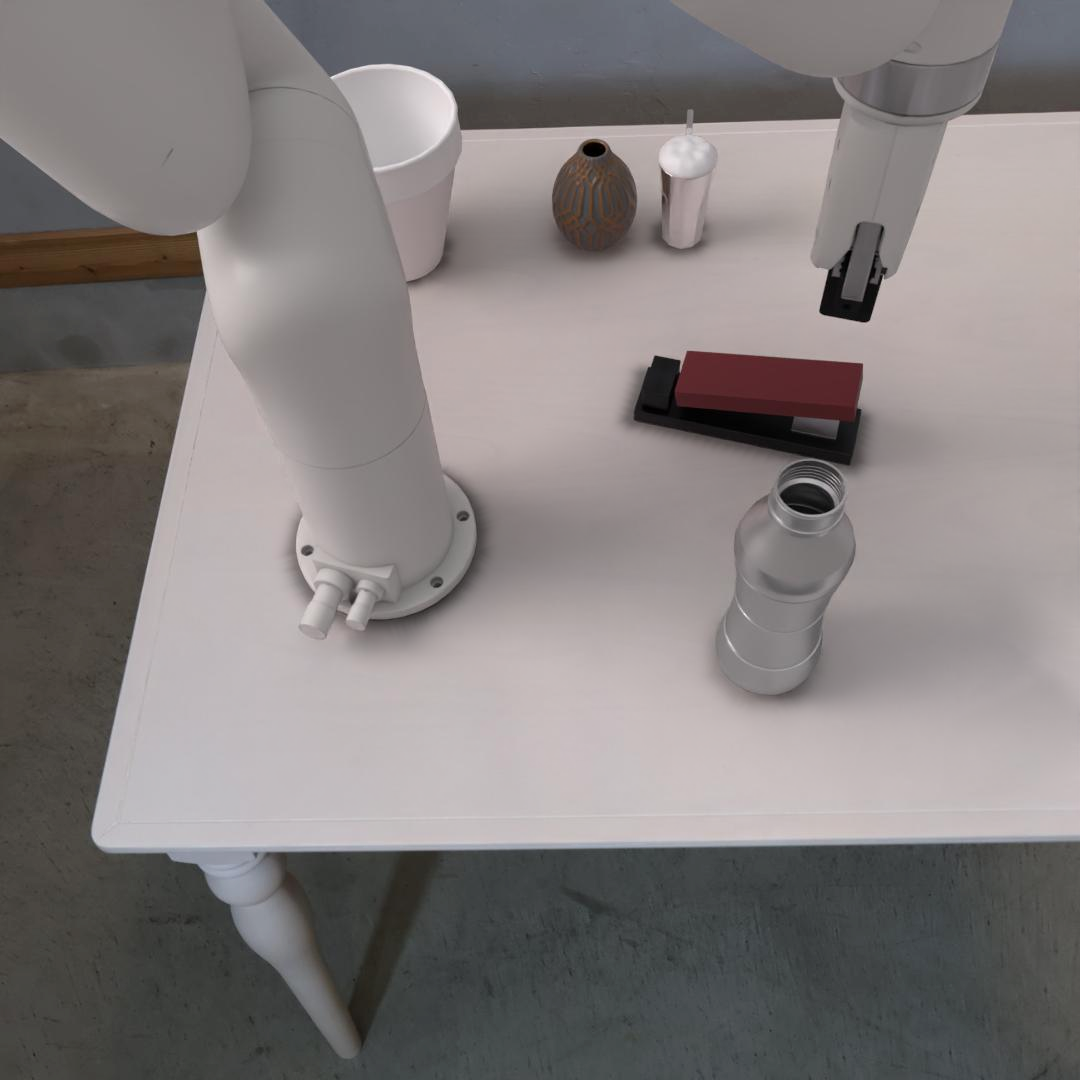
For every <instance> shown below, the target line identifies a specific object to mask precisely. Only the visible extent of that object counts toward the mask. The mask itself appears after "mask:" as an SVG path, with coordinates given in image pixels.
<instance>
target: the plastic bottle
mask: <svg viewBox="0 0 1080 1080" xmlns="http://www.w3.org/2000/svg"><path fill="white" fill-rule="evenodd" d="M848 492H849V486H848V482H847V479H846V477H845V476H844V473H842V472H841V470H840V469H838V468H837V467H836V466H835V465H833V464H832V463H829V461H826V460H821V459H817V458H800V459H797V460H794V461H791V462H789V463H788V464H786V465H785V466H783V468H782V469H781V470H780V471H779V472H778V473H777V475H776V477H775V478H774V481H773V486H772V487H771V489H770V491H769V493H767V494H766V495H763V496H762V497H760V498H759V499H757V500H756V501H755V502H754V503H752V505H751V506H749V508H748V509H747V510H746V512H745V513H744V514H743V515H742V517H741V518H740V520H739V522H738V523H737V526H736V529H735V532H734V540H733V557H734V567H735V584H734V593H733V596H732V600H731V602H730V605H729V606H728V608H727V609H726V610H725V612H724V614H723V615H722V618H721V620H720V621H719V625H718V627H717V630H716V634H715V649H716V654H717V658H718V661H719V664H720V667H721V669H722V671H723V673H724V674H725V675H726V677H728V679H729V680H730V682H733V683H734V684H735V685H736V686H738V687H739V688H741V689H743V690H745V691H747V692H750V693H754V694H756V695H763V696H772V695H779V694H784V693H787V692H790V691H791V690H794V689H796V688H798V686H800V685H801V684H803V682H804V681H805V680H806V679H807V678H808V677H809V676H810V675H811V673H813V671H814V670H815V669H816V667H817V665H818V663H819V662H820V660H821V659H820V658H821V655H822V651H823V649H822V648H823V636H824V634H823V622H824V615H825V612H826V609H827V607H828V606H829V604H830V601H831V599H832V597H833V596H834V594H835V593H836V592H837V590H838V589H839V587H840V586H841V584H842V583H843V582H844V580H845V578H846V577H847V576H848V574H849V571H850V569H851V567H852V566H853V564H854V561H855V557H856V553H857V552H856V551H857V542H856V536H855V531H854V527H853V524H852V522H851V519H850V517H849V516H848V514H847V513H846V512H845V510H846V501H847V499H848V495H849V493H848Z"/></svg>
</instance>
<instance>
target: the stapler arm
mask: <svg viewBox="0 0 1080 1080" xmlns="http://www.w3.org/2000/svg"><path fill="white" fill-rule="evenodd" d="M863 381H864V363H862V362H852V361H851V362H850V361H835V360H822V359H809V358H797V357H796V358H794V357H793V358H792V357H781V356H767V355H754V354H741V353H726V352H711V351H700V350H699V351H698V350H686V353H685V357H684V359H683V362H682V365H681V368H680V375H679V379H678V382H677V385H676V388H675V397H676V403H677V406H683V407H694V408H705V409H716V410H727V411H738V412H750V413H761V414H772V415H783V416H794V417H805V418H816V419H827V420H838V421H849V422H854V421H855V416H856V411H857V408H858V406H859V401H860V395H861V391H862V385H863Z"/></svg>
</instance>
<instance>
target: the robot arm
mask: <svg viewBox="0 0 1080 1080" xmlns="http://www.w3.org/2000/svg"><path fill="white" fill-rule="evenodd" d="M1013 1H1014V0H668V2H670V3H672V5H674V6H675V7H677V8H678V9H680V10H681V11H683V12H684V13H686V14H687V15H689V16H690V17H692V18H694V19H695V20H697V21H698V22H700V23H701V24H703V25H705V26H707V27H708V28H710V29H711V30H713V31H715V32H717V33H718V34H720V35H721V36H723V37H726V38H727V39H729V40H731V41H733V42H734V43H736V44H738V45H740V46H742V47H744V48H745V49H747V50H749V51H751V52H752V53H755V54H756V55H758V56H760V57H762V58H764V59H766V60H767V61H770V62H771V63H773V64H775V65H777V66H779V67H781V68H783V69H785V70H789V71H792V72H793V73H797V74H800V75H805V76H810V77H815V78H829V79H830V78H831V79H832V83H833V85H834V88H835V90H836V92H837V93H838V95H839V96H840V98H841V99H842V100H843V101H844V103H843V107H842V109H841V114H840V119H839V122H838V126H837V130H836V134H835V140H834V144H833V150H832V153H831V158H830V163H829V168H828V173H827V176H826V182H825V188H824V190H823V191H824V192H823V196H822V202H821V205H820V209H819V214H818V220H817V224H816V229H815V234H814V239H813V243H812V247H811V252H810V261H811V263H812V264H813V266H814V268H817V269H824V270H827V275H826V279H825V283H824V288H823V292H822V295H821V296H822V297H821V301H820V304H819V309H818V312H819V313H820V315H822V316H824V317H832V318H837V319H842V320H846V321H852V322H858V323H861V324H862V323H864V324H865V323H866V324H867V323H868V322H870V321H871V319H872V316H873V313H874V309H875V306H876V302H877V298H878V296H879V292H880V289H881V285H882V282H883V280H888V279H890V278H891V277H893V276H894V275H896V274H897V273H898V270H899V267H900V265H901V263H902V259H903V257H904V255H905V251H906V249H907V246H908V244H909V241H910V238H911V235H912V233H913V230H914V227H915V224H916V221H917V218H918V216H919V213H920V209H921V207H922V204H923V201H924V198H925V195H926V192H927V190H928V186H929V184H930V180H931V177H932V173H933V171H934V168H935V165H936V161H937V158H938V155H939V152H940V149H941V146H942V142H943V140H944V137H945V134H946V133H945V132H946V130H947V126H948V124H949V122H950V121H952V120H954V119H957V118H959V117H962V116H963V115H965V114H966V113H968V112H969V111H971V110H972V109H973V108H974V107H975V105H976V104H977V103H978V102H979V101H980V99H981V97H982V94H983V92H984V89H985V85H986V83H987V80H988V77H989V74H990V71H991V68H992V65H993V62H994V59H995V56H996V53H997V50H998V47H999V44H1000V41H1001V38H1002V35H1003V30H1004V28H1005V24H1006V22H1007V19H1008V16H1009V13H1010V10H1011V8H1012V5H1013ZM330 77H331V76H330V75H329V74H328V73H327V72H326V70H325V69H324V68H323V67H322V66H321V65H320V63H319V62H318V61H317V59H315V58H314V57H313V55H312V54H311V53H310V52H309V51H308V50H307V48H306V47H305V46H304V45H303V44H302V43H301V42H300V41H299V39H298V38H297V37H296V36H295V34H293V33H292V31H291V30H290V29H289V28H288V27H287V26H286V25H285V23H284V22H283V21H282V20H281V19H280V18H279V17H278V15H277V14H276V13H275V12H274V11H273V10H272V9H271V7H269V5H268V4H267V2H265V0H0V139H1V140H2V141H4V142H5V143H6V144H8V145H9V146H10V147H11V148H12V149H14V150H15V151H16V152H18V153H19V154H20V155H22V156H23V157H24V158H25V159H27V160H28V161H29V162H30V163H32V164H33V165H35V166H36V167H37V168H38V169H40V170H41V171H42V172H44V173H45V174H46V175H47V176H49V177H50V178H51V179H52V180H54V181H55V182H57V183H58V184H59V185H60V186H61V187H63V188H64V189H65V190H67V191H68V192H69V193H70V194H72V195H73V197H74V196H75V198H77V199H79V200H80V201H81V202H82V203H84V204H85V205H87V206H88V207H89V208H91V209H92V210H94V211H95V212H97V213H99V214H101V215H103V216H105V217H106V218H108V219H110V220H112V221H113V222H116V223H118V224H119V225H121V226H124V227H126V228H129V229H131V230H134V231H137V232H141V233H145V234H148V235H155V236H168V237H175V236H181V235H187V234H191V233H192V234H193V233H196V235H197V241H198V248H199V254H200V260H201V266H202V267H201V268H202V273H203V278H204V283H205V289H206V293H207V298H208V299H207V300H208V303H209V307H210V311H211V314H212V318H213V321H214V325H215V328H216V331H217V334H218V336H219V339H220V342H221V343H222V346H223V348H224V350H225V352H226V353H227V355H228V357H229V358H230V360H231V362H232V364H233V365H234V366H235V368H236V370H237V371H238V372H239V375H240V376H241V378H242V379H243V381H244V382H245V385H246V386H247V388H248V390H249V393H250V394H251V397H252V399H253V401H254V403H255V405H256V408H257V411H258V413H259V415H260V417H261V420H262V422H263V424H264V427H265V429H266V432H267V434H268V436H269V438H270V439H271V442H272V444H273V447H274V449H275V452H276V454H277V456H278V458H279V461H280V463H281V466H282V468H283V471H284V473H285V475H286V478H287V480H288V483H289V485H290V487H291V490H292V492H293V495H294V497H295V499H296V502H297V504H298V506H299V507H298V508H299V509H300V511H301V514H302V516H301V518H300V521H299V522H298V523H299V524H298V527H297V531H296V538H295V552H296V557H297V562H298V565H299V568H300V570H301V574H302V575H303V578H304V580H305V581H306V583H307V584H308V586H309V588H310V589H311V591H312V592H313V593H314V595H313V597H312V599H311V601H309V603H308V604H307V607H306V609H305V611H304V613H303V616H302V618H301V620H300V623H299V625H298V629H299V631H301V633H302V634H304V635H305V636H307V637H310V638H312V639H315V640H325V639H327V636H328V635H329V632H330V630H331V628H332V625H333V624H334V621H335V618H336V617H337V611H339V612H341V613H344V614H345V615H347V616H346V618H345V621H344V624H346V626H347V627H348V628H350V629H352V630H354V631H359V632H362V631H365V630H366V627H367V625H368V623H369V620H390V619H397V618H404V617H407V616H409V615H412V614H416V613H419V612H421V611H423V610H425V609H427V608H429V607H431V606H433V605H435V604H437V603H438V602H439V601H441V600H442V599H443V598H444V597H446V596H447V595H449V594H450V593H451V592H452V591H453V590H454V589H455V588H456V587H457V586H458V584H459V583H460V582H461V581H462V580H463V578H464V577H465V575H466V573H467V571H468V570H469V569H470V567H471V565H472V564H471V563H472V561H473V558H474V557H475V554H476V547H477V540H478V536H477V535H478V534H477V533H478V532H477V522H476V517H475V512H474V510H473V507H472V505H471V503H470V500H469V498H468V496H467V495H466V494H465V492H464V491H463V489H462V488H461V486H460V485H459V484H457V483H456V482H455V480H452V478H451V477H449V476H448V475H447V474H445V473H444V472H443V466H442V462H441V457H440V452H439V448H438V443H437V439H436V434H435V430H434V429H435V428H434V424H433V420H432V414H431V410H430V409H431V408H430V405H429V400H428V395H427V392H426V388H425V384H424V379H423V374H422V369H421V365H420V360H419V356H418V350H417V345H416V339H415V332H414V324H413V313H412V305H411V298H410V293H409V287H408V283H407V282H408V281H407V282H406V278H405V274H404V270H403V266H402V262H401V258H400V255H399V251H398V248H397V244H396V241H395V238H394V234H393V231H392V227H391V224H390V221H389V218H388V214H387V211H386V208H385V204H384V201H383V197H382V194H381V191H380V188H379V185H378V184H377V181H376V177H375V174H374V170H373V167H372V163H371V160H370V157H369V153H368V150H367V146H366V144H365V140H364V137H363V134H362V131H361V128H360V126H359V123H358V121H357V118H356V116H355V114H354V112H353V110H352V108H351V106H350V104H349V103H348V101H347V100H346V98H345V97H344V95H343V94H342V92H341V91H340V90H339V88H338V87H337V85H336V84H335V83H334V82H333V80H332V79H331V78H330Z"/></svg>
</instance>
